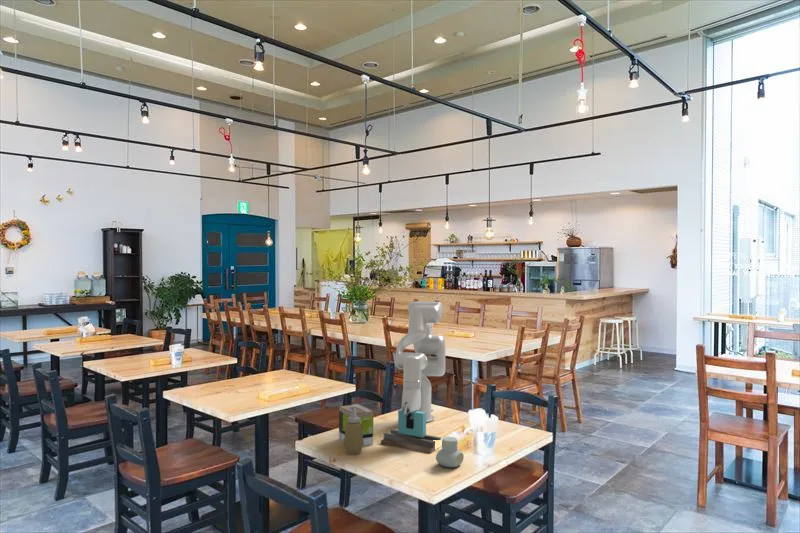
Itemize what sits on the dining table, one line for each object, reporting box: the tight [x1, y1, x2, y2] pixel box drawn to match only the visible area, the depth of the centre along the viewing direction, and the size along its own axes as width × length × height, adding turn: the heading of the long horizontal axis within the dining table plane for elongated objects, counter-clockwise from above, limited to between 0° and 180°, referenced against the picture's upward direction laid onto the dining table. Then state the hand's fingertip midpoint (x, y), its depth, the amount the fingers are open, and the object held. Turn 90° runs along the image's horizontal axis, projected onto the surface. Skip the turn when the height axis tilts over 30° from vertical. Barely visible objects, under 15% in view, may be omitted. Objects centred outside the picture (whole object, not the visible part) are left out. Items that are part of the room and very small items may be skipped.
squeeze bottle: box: [343, 408, 364, 455], centre depth 217 cm, size 8×8×18 cm
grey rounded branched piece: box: [435, 436, 464, 468], centre depth 203 cm, size 11×8×10 cm
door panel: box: [397, 408, 427, 437], centre depth 227 cm, size 3×12×10 cm, turn 61°
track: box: [380, 428, 442, 454], centre depth 227 cm, size 12×24×4 cm, turn 61°
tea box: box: [338, 403, 375, 447], centre depth 230 cm, size 15×10×15 cm, turn 32°
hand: (411, 426), depth 227 cm, fingers closed on door panel, 3 cm apart
